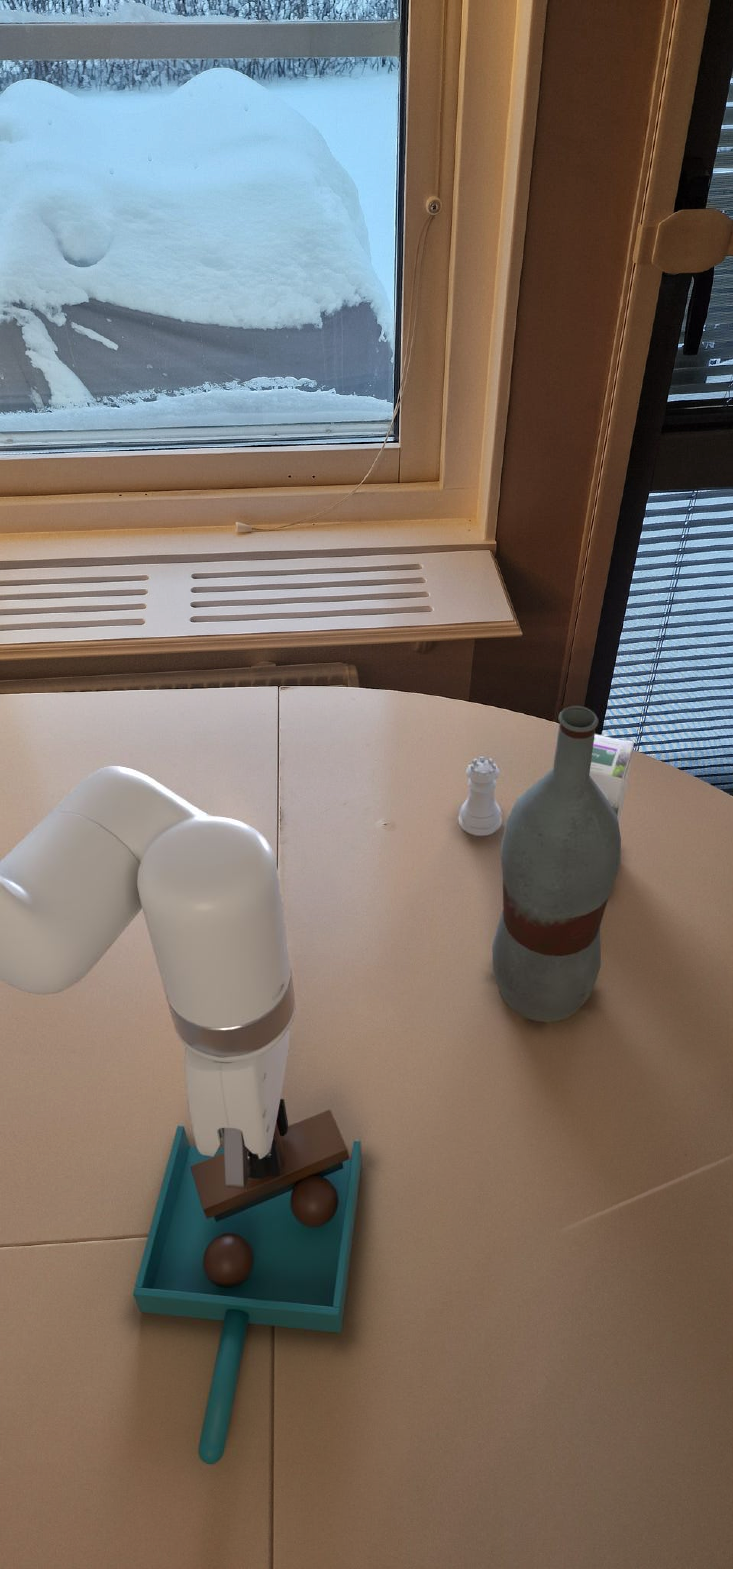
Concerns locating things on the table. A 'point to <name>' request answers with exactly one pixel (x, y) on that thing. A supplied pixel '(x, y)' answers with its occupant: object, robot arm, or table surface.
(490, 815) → the rook chess piece
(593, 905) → the bottle
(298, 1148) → the brush
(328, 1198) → the ball right
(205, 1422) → the dustpan
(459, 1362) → the table surface
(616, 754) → the syrup box
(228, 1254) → the ball left
